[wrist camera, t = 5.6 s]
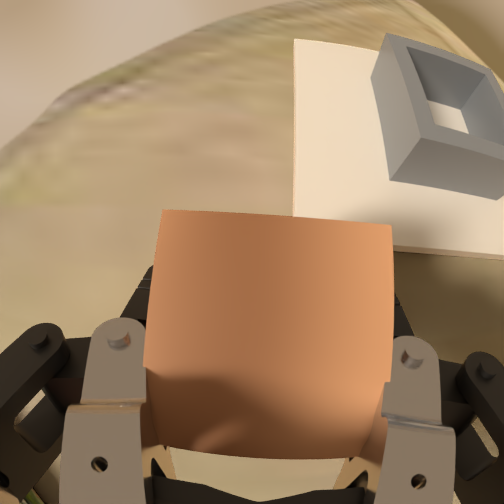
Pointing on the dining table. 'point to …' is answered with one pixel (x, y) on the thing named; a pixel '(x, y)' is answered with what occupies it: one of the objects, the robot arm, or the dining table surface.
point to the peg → (268, 333)
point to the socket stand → (401, 144)
